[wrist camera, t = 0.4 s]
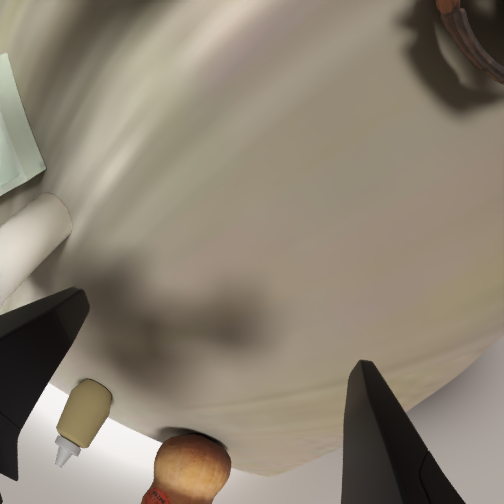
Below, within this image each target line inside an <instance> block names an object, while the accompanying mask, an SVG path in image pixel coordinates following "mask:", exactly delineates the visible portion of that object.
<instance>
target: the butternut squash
mask: <svg viewBox="0 0 504 504" xmlns="http://www.w3.org/2000/svg"><path fill="white" fill-rule="evenodd" d="M230 470H231V459H230V456H229V455H228V453H227V452H226V450H225V449H224V448H223V447H222V446H220V445H218V444H216V443H215V442H214V441H212V440H209V439H207V438H206V437H203V436H200V435H196V434H187V435H180V436H177V437H171V438H170V439H168V440H166V441H165V442H164V443H163V444H162V445H161V447H160V448H159V450H158V452H157V455H156V457H155V462H154V481H153V483H152V485H151V487H150V488H149V490H148V491H147V492H146V493H145V495H144V496H143V498H142V502H141V504H212V501H213V499H214V497H215V496H216V495H217V493H218V492H219V491H220V490H221V489H222V488H223V486H224V485H225V483H226V482H227V480H228V478H229V475H230Z"/></svg>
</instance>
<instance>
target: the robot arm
mask: <svg viewBox="0 0 504 504" xmlns="http://www.w3.org/2000/svg"><path fill="white" fill-rule="evenodd" d="M89 309H90V306H89V302H88V299H87V296H86V294H85V291H84V290H83V289H81V288H78V287H75V286H74V287H71V288H68V289H65V290H63V291H60V292H58V293H55V294H52V295H50V296H47V297H45V298H42V299H40V300H37V301H35V302H32V303H30V304H27V305H25V306H22V307H20V308H17V309H15V310H12V311H10V312H7V313H5V314H2V315H0V473H1V474H3V475H5V476H7V477H9V478H11V479H13V480H15V481H18V457H17V456H18V453H17V452H18V450H17V443H18V437H19V434H20V431H21V429H22V428H23V426H24V424H25V422H26V420H27V418H28V417H29V415H30V413H31V411H32V410H33V408H34V406H35V404H36V402H37V401H38V399H39V397H40V395H41V394H42V392H43V390H44V389H45V387H46V386H47V384H48V382H49V381H50V379H51V377H52V376H53V374H54V372H55V371H56V369H57V368H58V366H59V364H60V363H61V361H62V360H63V358H64V356H65V355H66V353H67V352H68V350H69V349H70V347H71V345H72V344H73V342H74V340H75V338H76V336H77V334H78V332H79V330H80V328H81V326H82V324H83V323H84V321H85V319H86V317H87V315H88V313H89ZM2 502H3V500H2V497H1V494H0V504H2ZM341 504H466V503H465V502H464V501H463V499H462V498H461V497H460V495H459V494H458V493H457V491H456V490H455V489H454V487H453V486H452V485H451V483H450V482H449V480H448V479H447V477H446V476H445V475H444V473H443V472H442V470H441V469H440V467H439V465H438V464H437V462H436V461H435V459H434V458H433V456H432V454H431V453H430V451H428V448H427V447H426V445H425V444H424V442H423V440H422V439H421V437H420V435H419V434H418V432H417V430H416V429H415V427H414V426H413V424H412V422H411V421H410V419H409V418H408V416H407V414H406V413H405V411H404V410H403V408H402V406H401V405H400V403H399V402H398V400H397V399H396V397H395V395H394V394H393V392H392V391H391V389H390V388H389V386H388V385H387V383H386V381H385V380H384V378H383V377H382V375H381V374H380V372H379V371H378V369H377V368H376V366H375V365H374V363H373V362H372V361H368V360H359V361H358V363H357V364H356V366H355V367H354V369H353V370H352V372H351V373H350V376H349V379H348V387H347V396H346V405H345V413H344V428H343V474H342V495H341Z"/></svg>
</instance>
